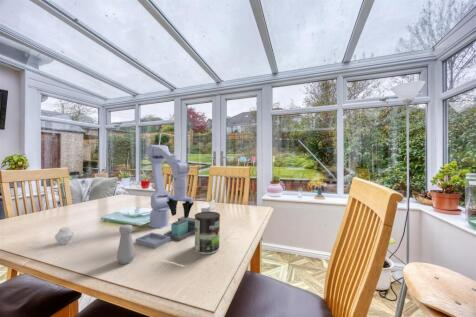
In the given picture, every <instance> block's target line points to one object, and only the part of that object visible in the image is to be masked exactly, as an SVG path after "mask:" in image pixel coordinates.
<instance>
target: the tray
mask: <svg viewBox="0 0 476 317" xmlns="http://www.w3.org/2000/svg"><path fill="white" fill-rule="evenodd" d="M171 241H172V239H171V237H170V236H165V235H164V234H161V233H157V232H149V233H146V234H145V235H141V236H139V237H137V238H135V243H136V244H138V245H142V246H146V247H149V248H153V249H157V248H159V247H161V246H164V245H165V244H167V243H169V242H171Z"/></svg>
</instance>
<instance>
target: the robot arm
mask: <svg viewBox="0 0 476 317" xmlns="http://www.w3.org/2000/svg"><path fill="white" fill-rule="evenodd" d="M169 149H170V148H169V147H168V146H167V144H163V145H162V144H151V143H150V144H148V146H147V148H146V154H147V156H146V157H147V160H148V162H150V164H151V165H150V166H151V171H152V179H153V184H154V186H153V187H154V191H155V192H154V193H153V194H152V195H151V196H150V208H151V209H152V210H150V214H149V225H148V227H150V228H156V229H161V230H162V229H164V228H167V227H171V224H172V223H170V222H169V221H170V220H169V218H170V217H169V210H170V213H171V216H172V217H174V216H176V215H177V208H178V207H177V205H178V202H182V208H183V216H184V218H187V217H189V215H190V212H191V209H192V207H193V205H194V203H195V201H194V200H195V198H194V197H189V196H187V180H188V179H187V175H188V174H189V172H190V165H189V163H188V162H187V161H183V160H181V159H180V158H179V157H178V156H177V155H176V154H172V153H171V152H170V150H169ZM164 161H166V164H167V165H168V167H170V168H171V173H172V178H173V194H171V193H170V192H169V191H167V190H166V186H165V180H164V175H163V168H162V162H164Z"/></svg>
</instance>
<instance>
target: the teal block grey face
mask: <svg viewBox="0 0 476 317" xmlns="http://www.w3.org/2000/svg"><path fill="white" fill-rule="evenodd" d="M170 229H171V230H170V231H171V235H174V236H178V237H181V236H182V235H184V234H186V233H188V221H187V220H182V219H181V220H179V221H178V220H177V221H175V222H172V223H171V225H170Z"/></svg>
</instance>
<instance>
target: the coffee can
mask: <svg viewBox="0 0 476 317" xmlns="http://www.w3.org/2000/svg"><path fill="white" fill-rule="evenodd" d="M194 218H195V233H194V250H195V252H196V253H199V254H201V255H212V254H216V253H217V252H218V251H219V250H220V226H221V225H220V224H221V223H220V222H221V221H220V220H221V214H220V213H219V212H216V211H215V212H201V211H200V212H197V213H195V215H194Z"/></svg>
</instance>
